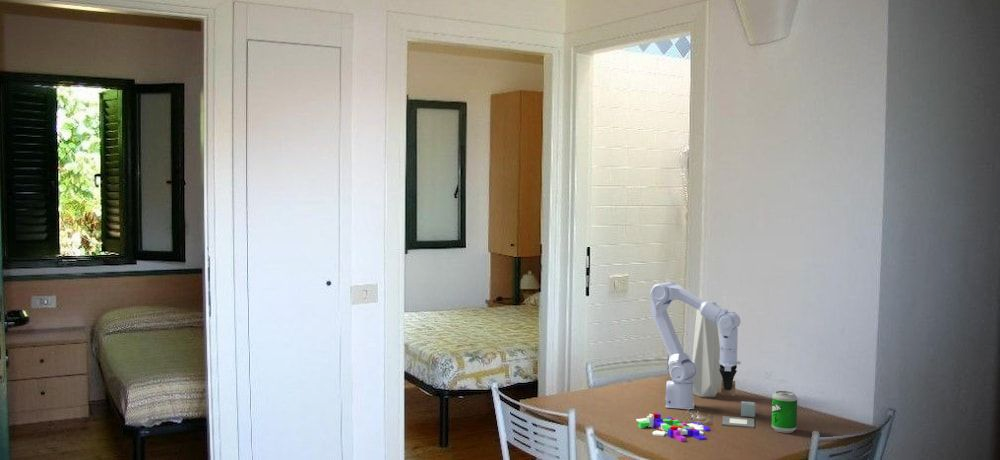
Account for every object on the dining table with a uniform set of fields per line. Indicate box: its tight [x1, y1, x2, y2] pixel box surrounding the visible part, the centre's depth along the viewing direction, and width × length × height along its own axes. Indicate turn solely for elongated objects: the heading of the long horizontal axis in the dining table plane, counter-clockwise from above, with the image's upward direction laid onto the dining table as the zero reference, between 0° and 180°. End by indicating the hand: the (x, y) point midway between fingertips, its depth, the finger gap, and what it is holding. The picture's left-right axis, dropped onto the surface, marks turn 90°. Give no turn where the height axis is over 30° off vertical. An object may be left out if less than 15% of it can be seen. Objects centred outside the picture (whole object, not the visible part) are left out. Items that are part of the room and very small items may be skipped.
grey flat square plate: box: [721, 415, 755, 429], centre depth 279 cm, size 10×10×1 cm
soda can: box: [771, 390, 798, 434], centre depth 270 cm, size 8×8×12 cm
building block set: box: [636, 412, 711, 443], centre depth 271 cm, size 25×20×4 cm
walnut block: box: [720, 380, 736, 396], centre depth 289 cm, size 4×4×4 cm
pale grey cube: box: [740, 401, 756, 418], centre depth 289 cm, size 4×4×4 cm
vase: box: [691, 309, 723, 398], centre depth 315 cm, size 12×12×33 cm
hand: (727, 388), depth 289 cm, fingers closed on walnut block, 4 cm apart
